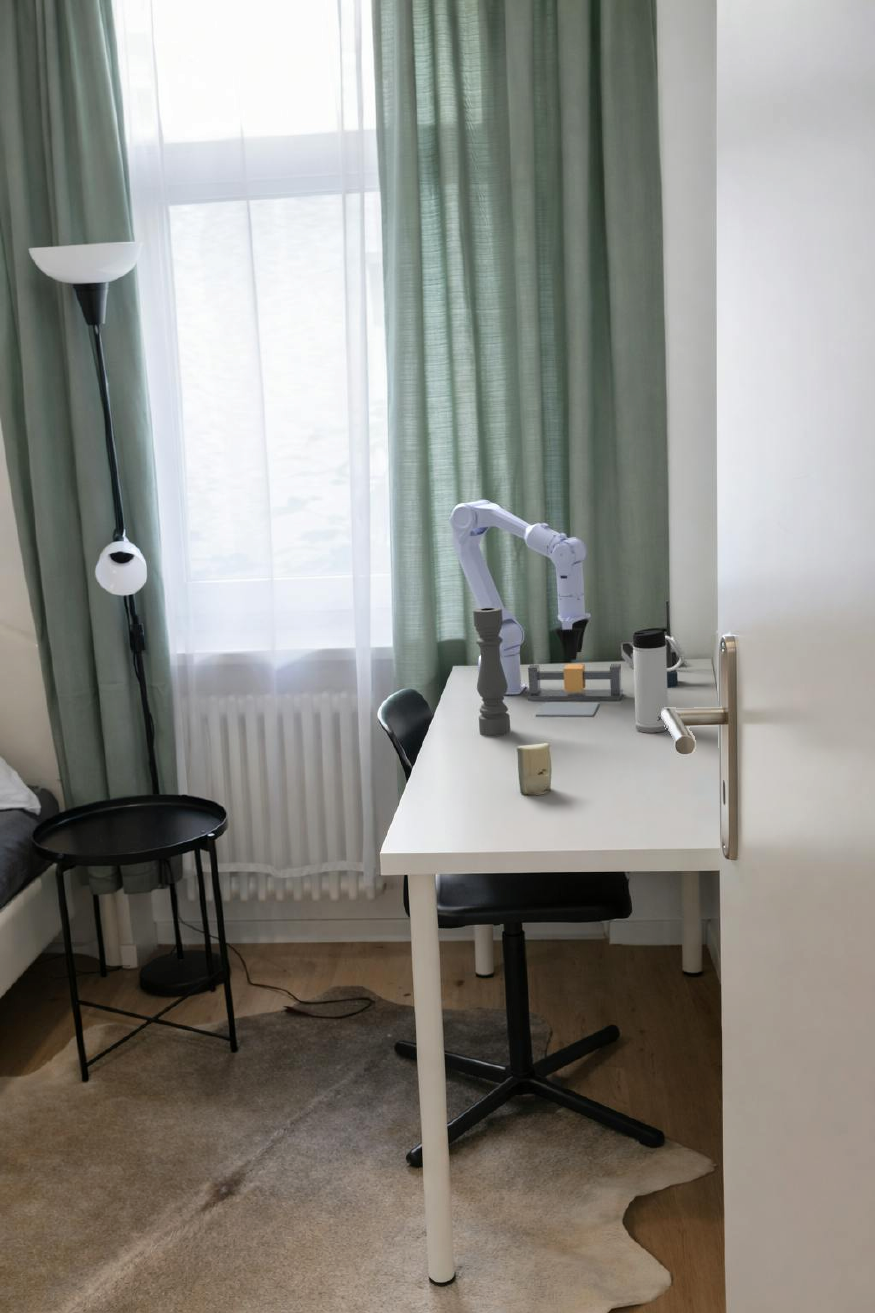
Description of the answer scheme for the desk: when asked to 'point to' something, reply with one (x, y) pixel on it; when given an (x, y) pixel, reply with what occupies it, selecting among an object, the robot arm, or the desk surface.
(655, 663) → the travel mug
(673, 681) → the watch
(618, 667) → the rail stand
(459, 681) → the desk surface
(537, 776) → the beige tall block
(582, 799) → the desk surface
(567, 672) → the clip
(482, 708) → the candle holder
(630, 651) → the wifi router
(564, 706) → the mat
